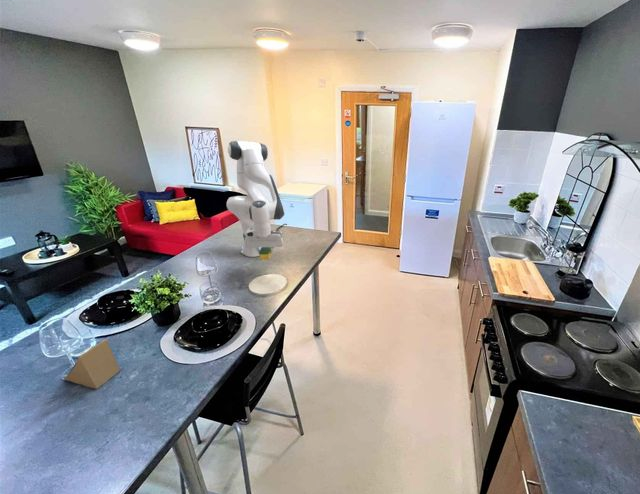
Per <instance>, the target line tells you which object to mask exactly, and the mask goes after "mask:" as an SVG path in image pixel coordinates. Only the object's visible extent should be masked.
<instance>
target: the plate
mask: <svg viewBox="0 0 640 494" xmlns="http://www.w3.org/2000/svg"><path fill="white" fill-rule="evenodd" d="M287 283H288V280H287V277H285V276H283V275H281V274H278V273H268V274H262V275H260V276H258V277H255V278H254V279H252V280H251V281H250V282H249V284H248V290H250V291H251V292H252V293H255V294H259V295H266V294H267V295H268V294H273V293H276V292H278V291H280V290H283V288H284V287H286V285H287Z"/></svg>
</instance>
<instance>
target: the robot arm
mask: <svg viewBox="0 0 640 494" xmlns="http://www.w3.org/2000/svg"><path fill="white" fill-rule="evenodd" d="M227 154H228V156H229V157H230V159H232V160H234V161H237V162H236V182H237V183H236V184H237V186H238V188H239V189H241V190H243V191H244V192H245V193H246V194H247V195H236V196H235V195H234V196H230V197H228V199H227V201H226V209H227V210H228V211H229V212H230V213H231V214H233V215H234V216H236V218H237V219H238V220H239V222H240V224H241V227H242V228H241V229H242V232H243V233H242V238H243V240H242V241H241V248H242V249H241V251H240V254H243V255H244V256H245V257H249V258H250V257H251V258H253V257H260V255H259V252H260V250H261V248H262V247H271V248H272V250H270V254H271V255H273V254H274V250H275V248H282V247H283V246H284V238H283V237H284V234H283V232H282V231H281V230H279V229H280V228H282V227H283V226H285V225H286V226H288V224H287V223H283V224H281V225H280V226H278V227H277V228H276V230H272V226H271V225H272V224H271V221H270V220H274V221H275V220H276V221H277V220H278V221H279V220H281V219H283V217H285V214H286V213H285V207H284V205H283V203H282V201H281V198H280V195H279V191H278V188H277V185H276V183H275V180H274V177H273V176H272V175H271V173H269V172H268V171H267V170H266V166H265V161H266V160H267V159H268V157H269V150H268V147H267V145H266V144H264V143H261V142H255V141H238V140H232V141H230V142H229V143H228V146H227ZM258 185H261V186H264V187H265V188H267V189H268V190H269V194H270V197H271V199H272V201H269V200H268V198H267V197H266V196H264V195H263V194H262V193H261V191H260V190H259V187H258Z"/></svg>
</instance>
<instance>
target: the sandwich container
mask: <svg viewBox="0 0 640 494" xmlns="http://www.w3.org/2000/svg"><path fill="white" fill-rule="evenodd" d="M120 371H121V369H120V367H119V364H118V362H117V359H116V358H115V355H114V353H113V351H112V349H111V346H110V344H109V341H108V339H107V338H106V339H103V340H102V341H100V342H99V343H96V344H95V345H94V346H92V347H91V348H89V349H88V350H86V351H85V352H84V353H82V354H81V355H80V356H78V358H77V360H76V361H75V363H74V365H73V366H72V367H71V369H70V370H69V372H68V373H67V375H66V376H65V377H64V380H65V381H68V382H72V383H74V384H77V385H81V386H84V387H87V388H91V389H95V390H97V389H99V388H101V386H102V385H104V384H105V383H107V382H108V381H109V380H111V378H113V377H114V376H115V375H117V374H118V373H119V372H120Z"/></svg>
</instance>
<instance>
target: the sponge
mask: <svg viewBox="0 0 640 494" xmlns="http://www.w3.org/2000/svg"><path fill="white" fill-rule="evenodd" d="M272 249H273V248H271V247H262V248H261V250H260V252H259V255H260V256H259V260H270V259H271V257H272V254H270V250H272Z"/></svg>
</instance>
